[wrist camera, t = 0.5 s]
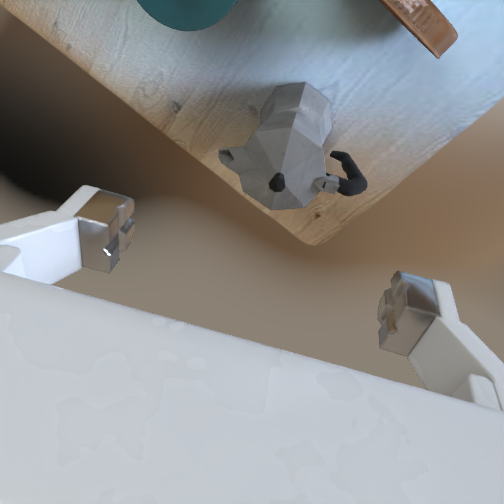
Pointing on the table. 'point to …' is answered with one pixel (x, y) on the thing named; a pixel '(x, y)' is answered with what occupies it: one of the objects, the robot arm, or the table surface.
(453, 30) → the tin
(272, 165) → the coffeepot
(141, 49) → the table surface
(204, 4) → the can lid
